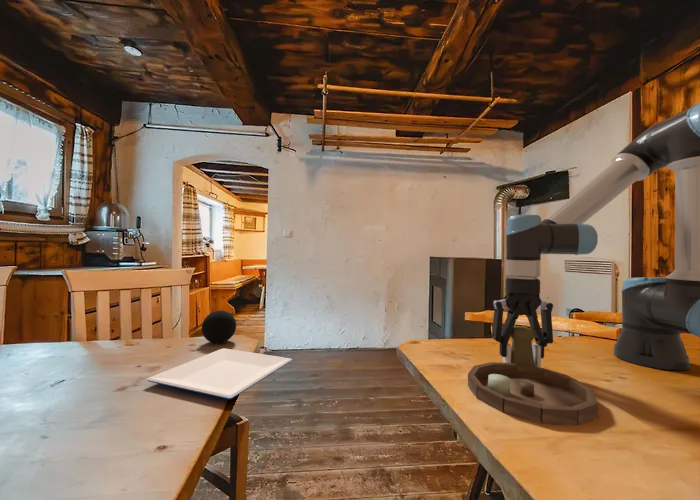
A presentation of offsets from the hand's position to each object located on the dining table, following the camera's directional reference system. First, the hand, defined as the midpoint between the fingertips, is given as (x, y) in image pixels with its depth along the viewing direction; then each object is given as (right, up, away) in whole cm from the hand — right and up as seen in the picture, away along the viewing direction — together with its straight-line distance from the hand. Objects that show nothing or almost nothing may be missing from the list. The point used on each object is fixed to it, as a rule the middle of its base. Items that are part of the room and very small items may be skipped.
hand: (521, 370), depth 76 cm
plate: (-71, 0, -5) cm, 72 cm away
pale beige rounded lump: (-12, +1, -14) cm, 19 cm away
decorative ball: (-84, +1, +20) cm, 86 cm away
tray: (-7, 0, -14) cm, 16 cm away
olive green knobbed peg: (0, -1, 0) cm, 1 cm away
